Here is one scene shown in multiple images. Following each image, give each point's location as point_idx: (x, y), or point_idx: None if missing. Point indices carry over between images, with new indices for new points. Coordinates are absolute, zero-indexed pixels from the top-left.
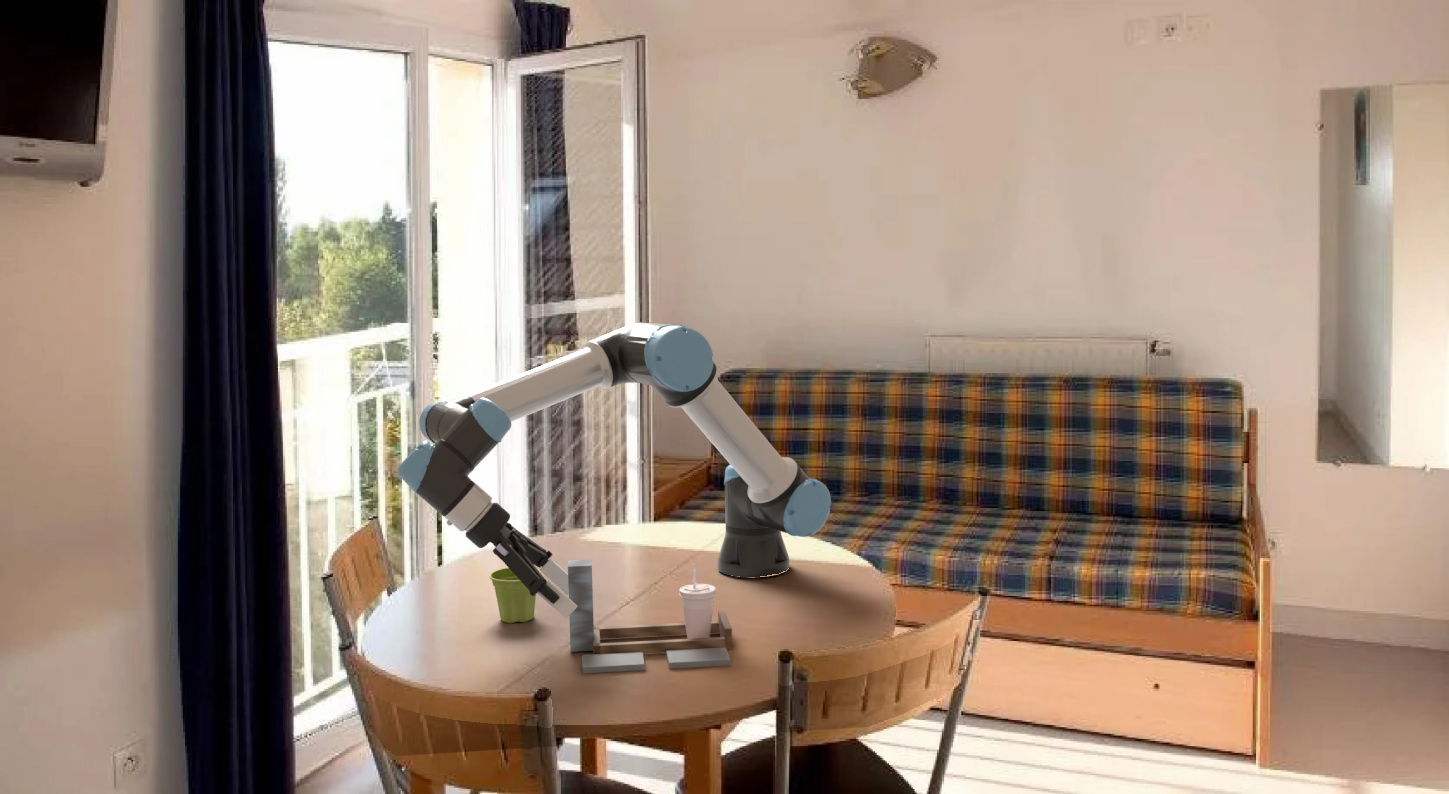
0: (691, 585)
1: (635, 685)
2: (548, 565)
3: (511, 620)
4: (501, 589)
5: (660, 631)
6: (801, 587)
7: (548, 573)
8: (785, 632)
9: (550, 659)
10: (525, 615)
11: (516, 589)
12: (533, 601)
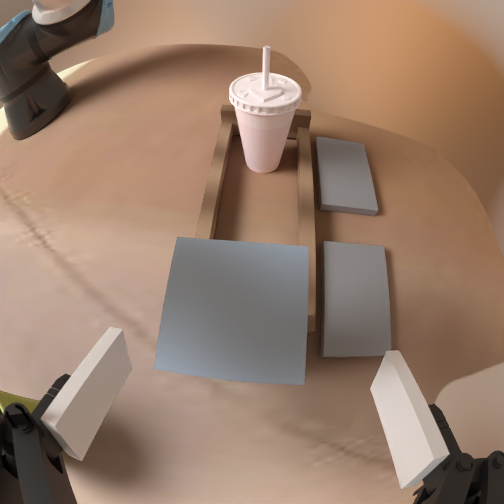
0: (236, 91)
1: (434, 271)
2: (71, 433)
3: None
4: None
5: (218, 198)
6: (111, 79)
7: (89, 430)
8: None
9: (295, 420)
10: None
11: None
12: (30, 406)
